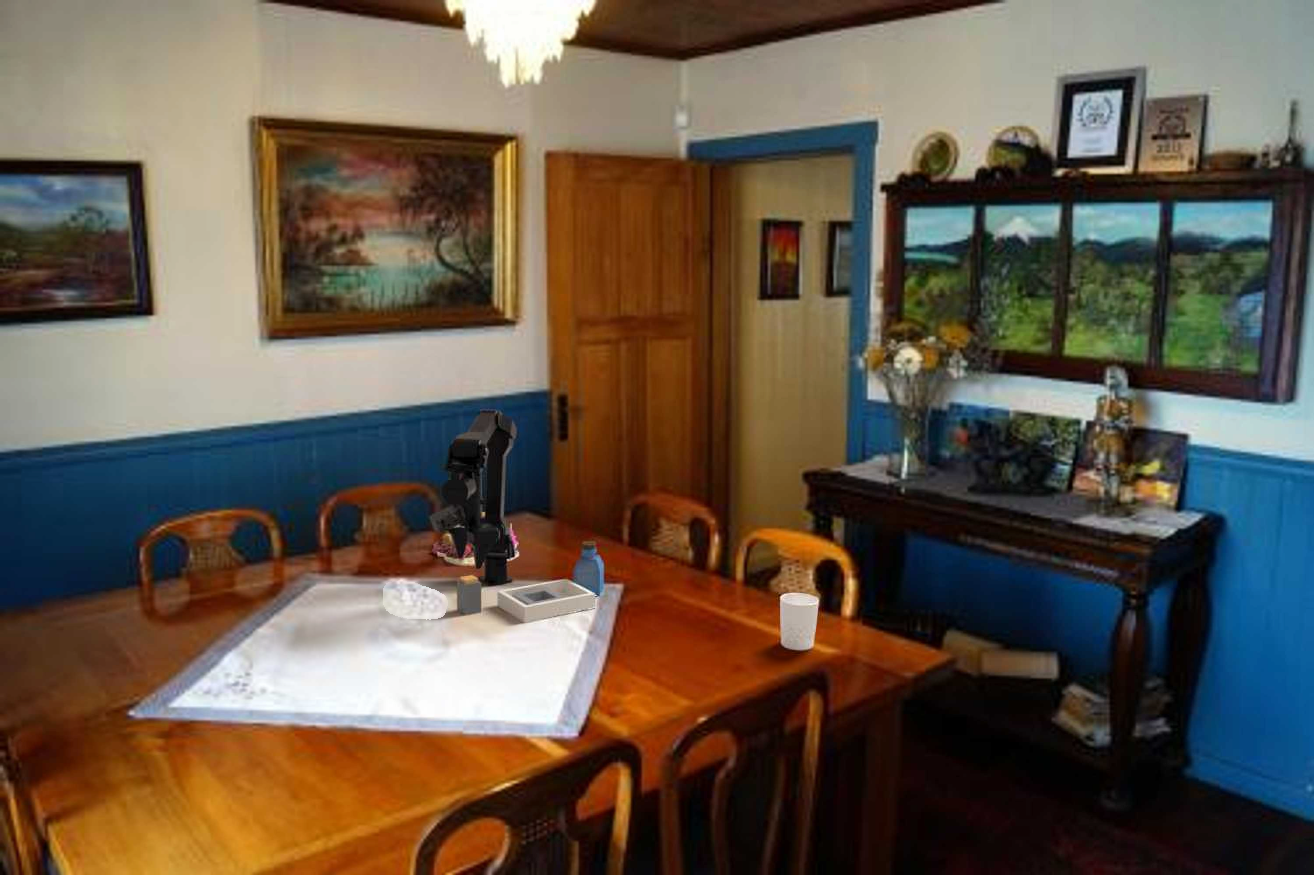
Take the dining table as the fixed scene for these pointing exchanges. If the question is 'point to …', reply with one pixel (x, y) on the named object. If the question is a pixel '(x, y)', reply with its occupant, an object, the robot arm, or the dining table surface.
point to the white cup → (798, 620)
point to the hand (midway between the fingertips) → (469, 563)
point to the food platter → (448, 552)
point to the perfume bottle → (590, 569)
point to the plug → (468, 595)
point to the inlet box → (545, 600)
